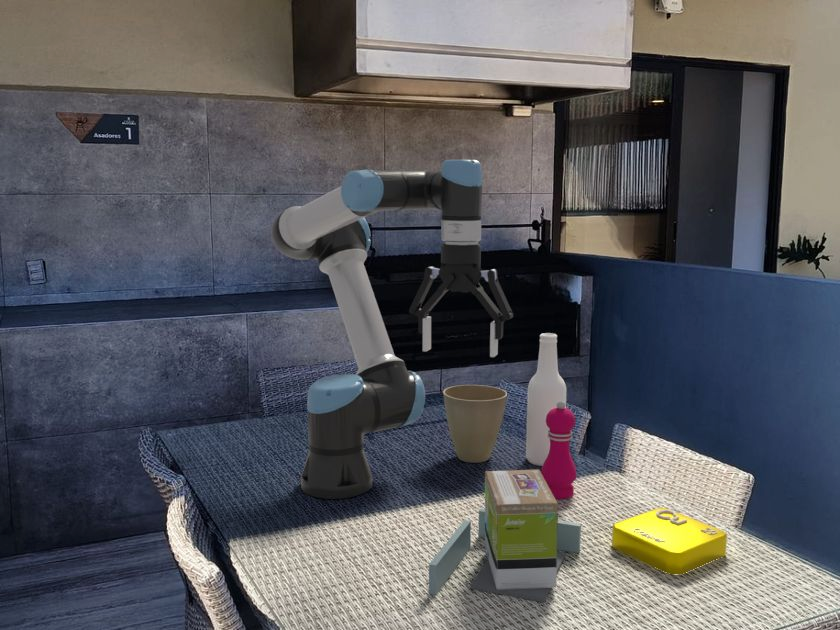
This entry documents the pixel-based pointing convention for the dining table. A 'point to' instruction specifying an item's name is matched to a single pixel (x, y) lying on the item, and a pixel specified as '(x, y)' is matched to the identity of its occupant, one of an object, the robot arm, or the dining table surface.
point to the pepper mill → (560, 453)
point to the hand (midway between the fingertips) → (459, 353)
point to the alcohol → (543, 399)
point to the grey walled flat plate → (461, 538)
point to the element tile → (669, 540)
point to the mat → (487, 584)
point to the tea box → (520, 529)
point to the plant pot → (474, 419)
